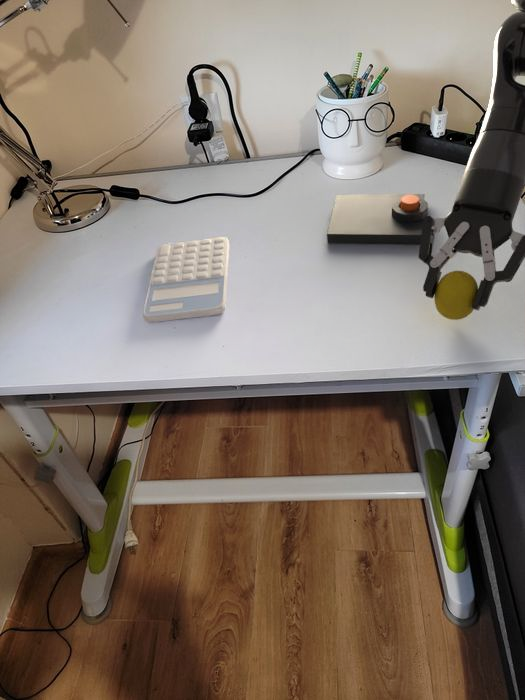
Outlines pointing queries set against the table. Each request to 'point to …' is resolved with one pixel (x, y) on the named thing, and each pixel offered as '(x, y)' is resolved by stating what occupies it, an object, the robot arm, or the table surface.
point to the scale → (375, 220)
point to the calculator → (188, 280)
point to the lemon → (456, 295)
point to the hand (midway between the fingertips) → (452, 302)
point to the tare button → (410, 202)
